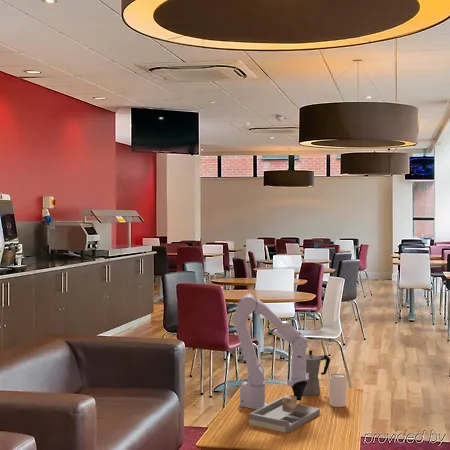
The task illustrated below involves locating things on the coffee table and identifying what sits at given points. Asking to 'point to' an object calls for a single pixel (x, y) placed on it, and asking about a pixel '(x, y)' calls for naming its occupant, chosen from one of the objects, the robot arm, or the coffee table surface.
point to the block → (289, 402)
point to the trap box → (282, 416)
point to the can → (337, 390)
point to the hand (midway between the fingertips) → (298, 399)
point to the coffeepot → (314, 373)
